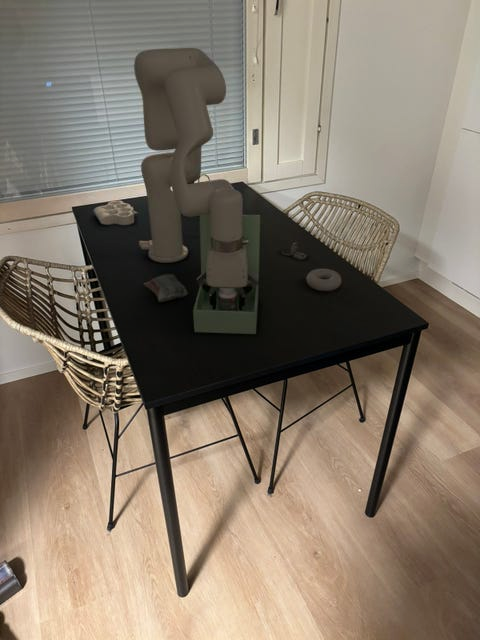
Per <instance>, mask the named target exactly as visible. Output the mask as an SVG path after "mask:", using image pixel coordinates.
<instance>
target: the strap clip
mask: <svg viewBox="0 0 480 640" xmlns="http://www.w3.org/2000/svg"><path fill="white" fill-rule="evenodd" d="M297 249H298V242H292V244H291V246H290V249H287V248H284V249H282V250H281V251H280V253H281V254H282V255H285V256H287V257H288V256H289V257H290V256H292V258H293V259H297V260H301V261H302V260H305V259H306V258H307V257H308V256H307V254H305V253H303V252H300V251H297Z"/></svg>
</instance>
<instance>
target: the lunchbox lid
mask: <svg viewBox="0 0 480 640" xmlns="http://www.w3.org/2000/svg"><path fill="white" fill-rule="evenodd" d="M243 237H244V238H248V239H249V243H248V244H245V247H246V251H247V259H248V271H249V272H250V273H251V274H252V275H253V276H254V277H255V278H256V279H257V280H258V281H259V280H260V279H259V278H260V244H261V243H260V241H261V238H260V237H261V214H243ZM199 240H200V241H199V243H200V244H199V245H200V273H201V274H202V273H203V272H204V271H206V264H207V252H208V247H209V245H210V244H211V233H210V214H205V215H200V216H199ZM201 274H200V275H201Z"/></svg>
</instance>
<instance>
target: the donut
mask: <svg viewBox="0 0 480 640" xmlns="http://www.w3.org/2000/svg"><path fill="white" fill-rule="evenodd" d="M305 280H306V284H307V285H308V286H309V287H310V288H311V289H313V290H316V291H319V292H331V291H335V290H337V289H338V288H339V287H341V284H342V276H341V275H340V274H339V272H337V271H335V270H333V269H329V268H315V269H313V270H311V271H309V272H308V273H307V275H306V278H305Z"/></svg>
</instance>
